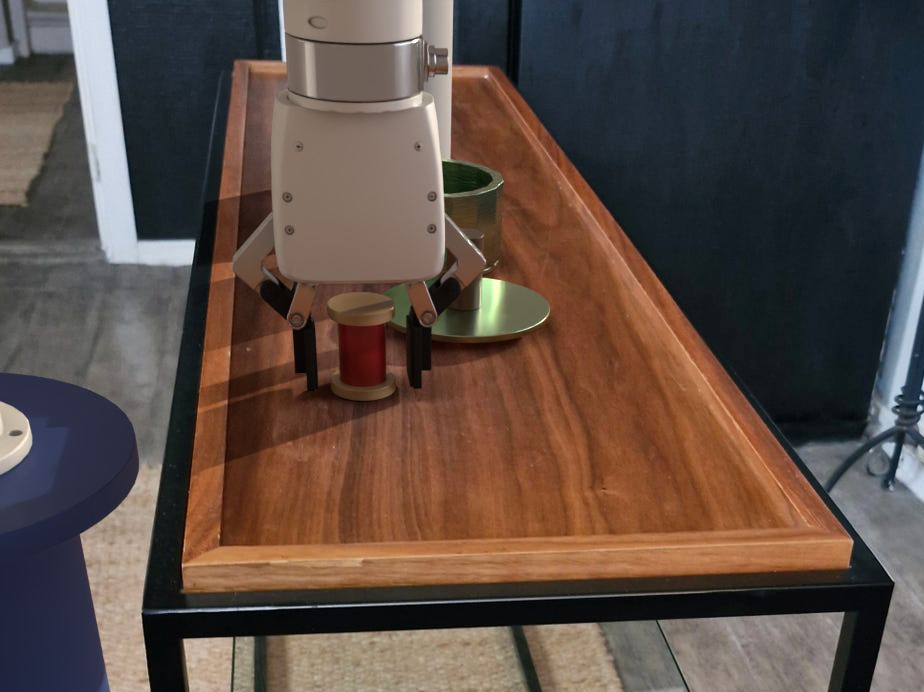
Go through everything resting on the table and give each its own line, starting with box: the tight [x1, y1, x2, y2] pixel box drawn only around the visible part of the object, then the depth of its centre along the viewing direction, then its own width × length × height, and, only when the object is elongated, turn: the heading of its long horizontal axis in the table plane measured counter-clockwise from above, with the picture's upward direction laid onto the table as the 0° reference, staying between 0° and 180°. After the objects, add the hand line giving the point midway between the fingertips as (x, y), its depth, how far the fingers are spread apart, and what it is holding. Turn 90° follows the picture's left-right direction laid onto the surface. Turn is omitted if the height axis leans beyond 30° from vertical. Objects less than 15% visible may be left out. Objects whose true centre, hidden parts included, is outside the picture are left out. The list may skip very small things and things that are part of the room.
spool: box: [326, 291, 397, 402], centre depth 77 cm, size 4×4×6 cm
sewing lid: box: [381, 228, 551, 344], centre depth 88 cm, size 13×13×6 cm
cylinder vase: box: [421, 0, 454, 159], centre depth 108 cm, size 12×12×25 cm
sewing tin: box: [435, 158, 505, 277], centre depth 98 cm, size 12×12×6 cm
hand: (363, 379), depth 79 cm, fingers open, 6 cm apart
